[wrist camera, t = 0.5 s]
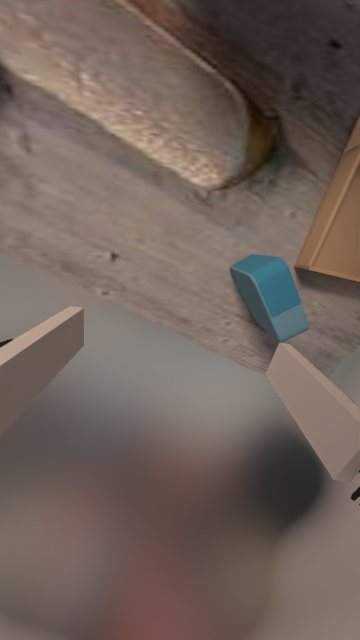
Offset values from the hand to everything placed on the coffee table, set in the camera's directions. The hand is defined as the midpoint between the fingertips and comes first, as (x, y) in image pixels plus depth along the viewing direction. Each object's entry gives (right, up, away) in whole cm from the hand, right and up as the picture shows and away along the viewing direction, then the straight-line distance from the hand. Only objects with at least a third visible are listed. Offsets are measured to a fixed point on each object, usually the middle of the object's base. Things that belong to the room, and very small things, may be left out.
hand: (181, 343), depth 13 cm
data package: (+14, +8, +24) cm, 29 cm away
